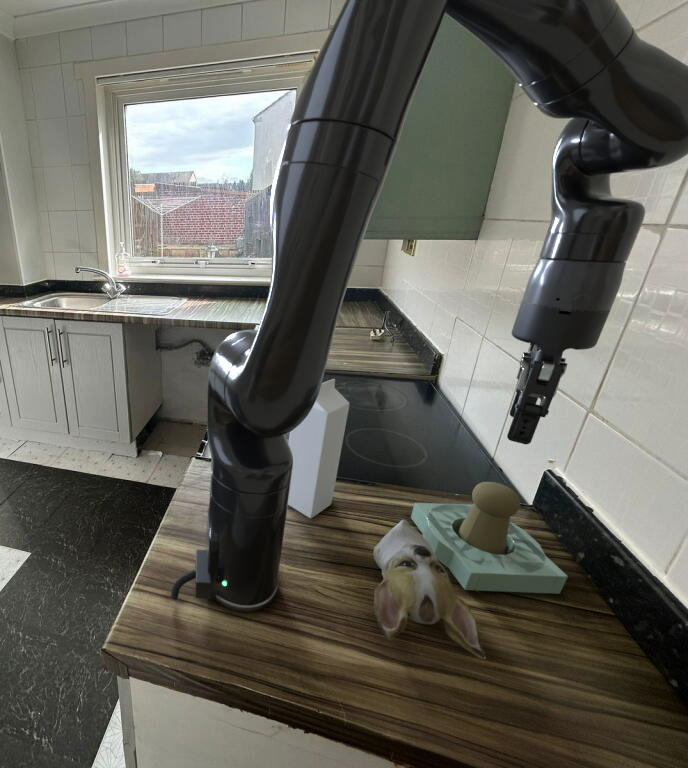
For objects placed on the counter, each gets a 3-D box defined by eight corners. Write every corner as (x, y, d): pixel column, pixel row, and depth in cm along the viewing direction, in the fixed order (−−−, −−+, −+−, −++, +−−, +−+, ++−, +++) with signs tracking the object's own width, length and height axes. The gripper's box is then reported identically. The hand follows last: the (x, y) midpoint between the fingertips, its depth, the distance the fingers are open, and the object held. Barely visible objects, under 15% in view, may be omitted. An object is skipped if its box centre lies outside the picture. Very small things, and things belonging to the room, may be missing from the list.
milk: (331, 504, 68) (354, 384, 60) (310, 519, 65) (332, 393, 56) (301, 487, 72) (319, 372, 64) (279, 500, 69) (296, 380, 61)
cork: (485, 538, 61) (508, 476, 57) (512, 569, 55) (539, 504, 51) (443, 535, 61) (463, 474, 57) (466, 565, 56) (489, 500, 52)
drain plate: (458, 590, 52) (464, 572, 51) (405, 517, 65) (409, 502, 64) (566, 594, 52) (575, 576, 51) (491, 520, 65) (497, 505, 64)
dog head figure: (451, 515, 52) (511, 623, 39) (434, 563, 56) (484, 677, 43) (363, 504, 54) (392, 602, 41) (352, 551, 58) (376, 655, 45)
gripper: (523, 291, 53) (486, 404, 59) (522, 305, 43) (477, 440, 48) (602, 298, 48) (554, 419, 54) (623, 315, 38) (560, 462, 44)
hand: (518, 428), depth 51 cm, fingers open, 8 cm apart
